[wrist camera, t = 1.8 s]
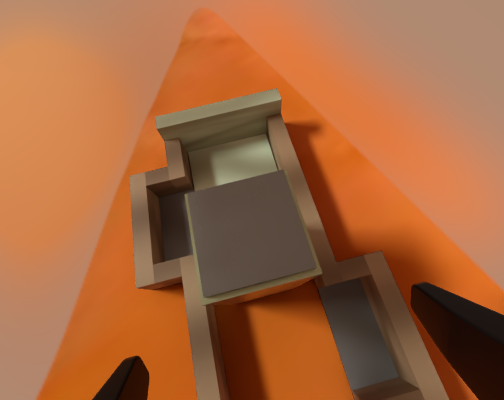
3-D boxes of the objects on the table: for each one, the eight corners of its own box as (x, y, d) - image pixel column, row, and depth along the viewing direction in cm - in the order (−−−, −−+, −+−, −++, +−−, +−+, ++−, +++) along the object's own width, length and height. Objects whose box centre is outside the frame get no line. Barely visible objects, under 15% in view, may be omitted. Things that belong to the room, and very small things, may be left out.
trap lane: (425, 393, 15) (477, 424, 11) (167, 468, 14) (132, 527, 11) (306, 114, 23) (313, 79, 20) (141, 154, 23) (117, 125, 19)
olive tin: (293, 288, 18) (325, 272, 8) (236, 304, 17) (198, 305, 8) (277, 233, 19) (286, 163, 10) (225, 246, 19) (180, 189, 9)
